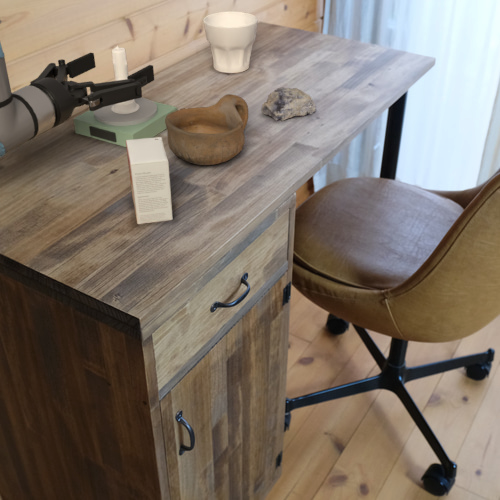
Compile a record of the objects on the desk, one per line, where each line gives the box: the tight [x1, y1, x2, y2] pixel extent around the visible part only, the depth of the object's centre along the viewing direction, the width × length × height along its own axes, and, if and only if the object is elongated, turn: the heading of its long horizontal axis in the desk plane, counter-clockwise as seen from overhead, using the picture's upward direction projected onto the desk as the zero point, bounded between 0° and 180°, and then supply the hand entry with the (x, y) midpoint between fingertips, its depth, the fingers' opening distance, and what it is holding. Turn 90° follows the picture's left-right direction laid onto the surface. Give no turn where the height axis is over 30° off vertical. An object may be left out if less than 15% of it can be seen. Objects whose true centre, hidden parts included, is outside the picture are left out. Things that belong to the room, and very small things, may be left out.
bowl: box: [165, 93, 249, 166], centre depth 115 cm, size 18×14×10 cm
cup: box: [202, 10, 259, 74], centre depth 149 cm, size 12×12×11 cm
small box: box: [125, 136, 174, 225], centre depth 98 cm, size 8×6×10 cm
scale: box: [72, 96, 178, 148], centre depth 124 cm, size 14×14×4 cm
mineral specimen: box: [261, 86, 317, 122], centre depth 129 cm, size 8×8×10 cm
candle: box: [111, 45, 140, 114], centre depth 120 cm, size 5×5×12 cm
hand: (122, 65), depth 119 cm, fingers open, 13 cm apart
